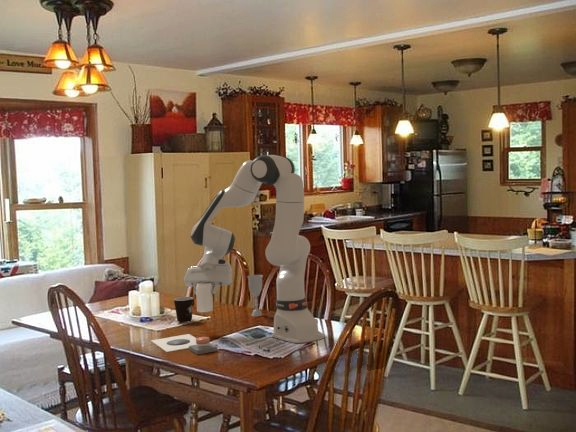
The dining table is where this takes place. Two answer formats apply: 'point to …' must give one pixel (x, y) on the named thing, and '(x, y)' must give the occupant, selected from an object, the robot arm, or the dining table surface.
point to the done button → (202, 340)
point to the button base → (203, 348)
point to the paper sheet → (175, 342)
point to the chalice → (255, 291)
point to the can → (204, 297)
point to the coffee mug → (184, 308)
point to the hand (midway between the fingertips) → (204, 293)
